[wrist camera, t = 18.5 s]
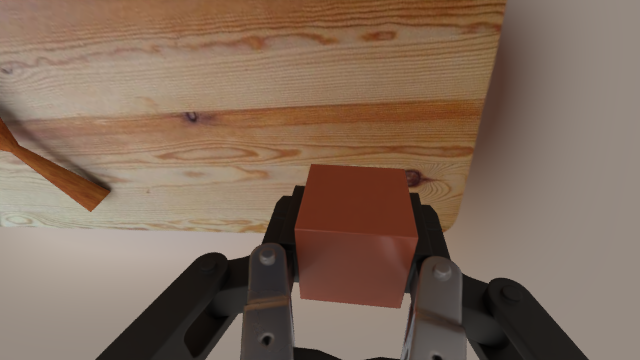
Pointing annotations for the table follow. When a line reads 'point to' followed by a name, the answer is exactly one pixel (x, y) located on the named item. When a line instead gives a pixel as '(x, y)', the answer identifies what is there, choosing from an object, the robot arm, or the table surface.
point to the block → (355, 235)
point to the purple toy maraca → (55, 172)
